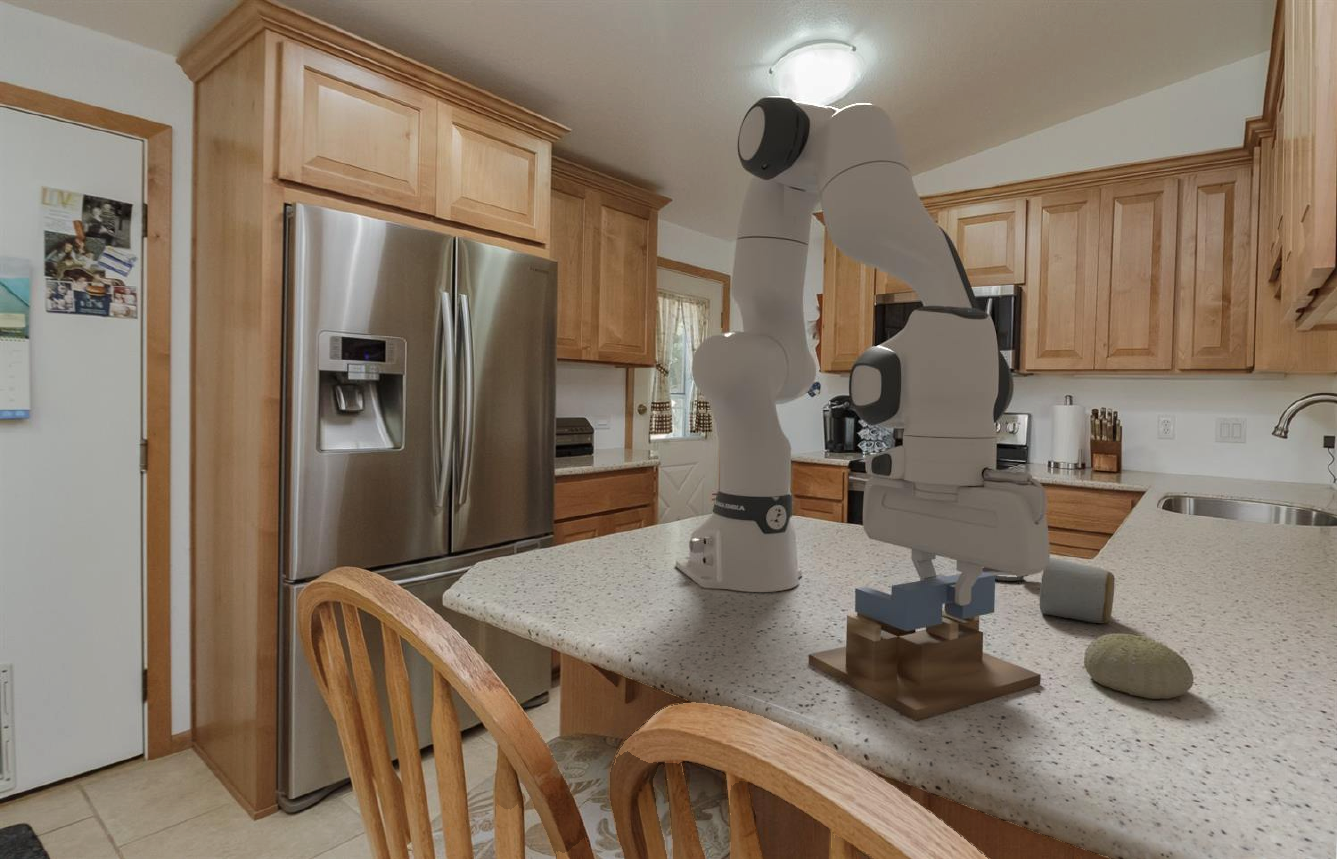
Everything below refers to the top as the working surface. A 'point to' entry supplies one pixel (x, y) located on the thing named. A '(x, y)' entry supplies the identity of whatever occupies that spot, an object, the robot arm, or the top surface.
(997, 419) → the robot arm
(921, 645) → the stand
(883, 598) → the blue stepped bracket
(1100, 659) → the sea urchin shell
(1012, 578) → the pocket watch
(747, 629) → the top surface
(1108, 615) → the ceramic mug
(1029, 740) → the top surface
